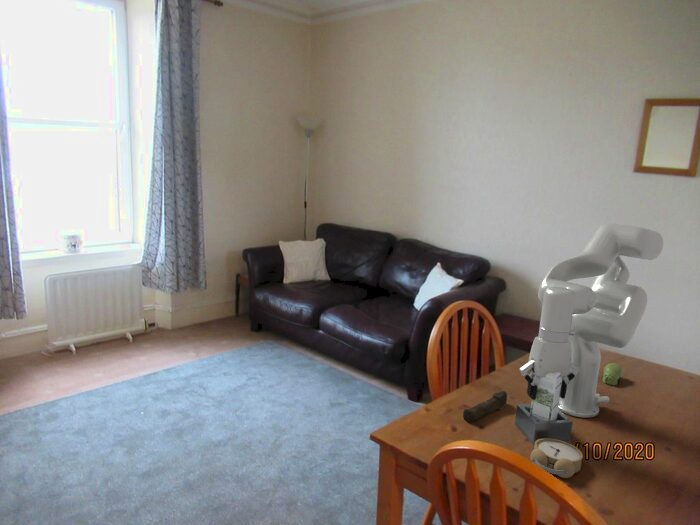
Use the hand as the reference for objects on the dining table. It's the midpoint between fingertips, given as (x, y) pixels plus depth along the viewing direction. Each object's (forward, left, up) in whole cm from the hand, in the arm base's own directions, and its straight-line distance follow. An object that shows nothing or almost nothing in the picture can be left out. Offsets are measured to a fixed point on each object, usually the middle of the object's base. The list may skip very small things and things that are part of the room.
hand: (545, 396), depth 139 cm
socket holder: (0, 0, -11) cm, 11 cm away
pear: (-42, -29, -11) cm, 52 cm away
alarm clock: (+4, +14, -11) cm, 18 cm away
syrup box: (0, 0, -7) cm, 7 cm away
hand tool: (+10, -13, -11) cm, 20 cm away
